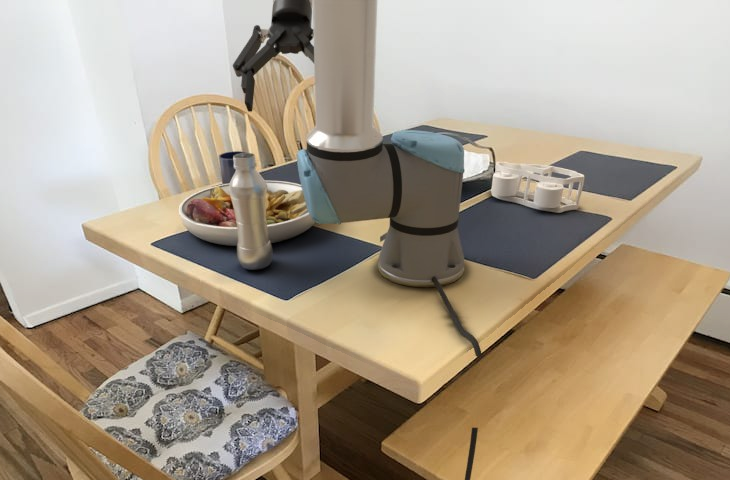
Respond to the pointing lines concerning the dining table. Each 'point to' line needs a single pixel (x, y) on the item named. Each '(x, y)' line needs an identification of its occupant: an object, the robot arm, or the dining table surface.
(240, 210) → the silver metal bottle
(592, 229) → the dining table surface
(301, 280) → the dining table surface
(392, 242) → the robot arm
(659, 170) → the dining table surface
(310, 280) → the dining table surface
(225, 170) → the navy cup
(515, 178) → the car outline toy
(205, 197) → the bowl
